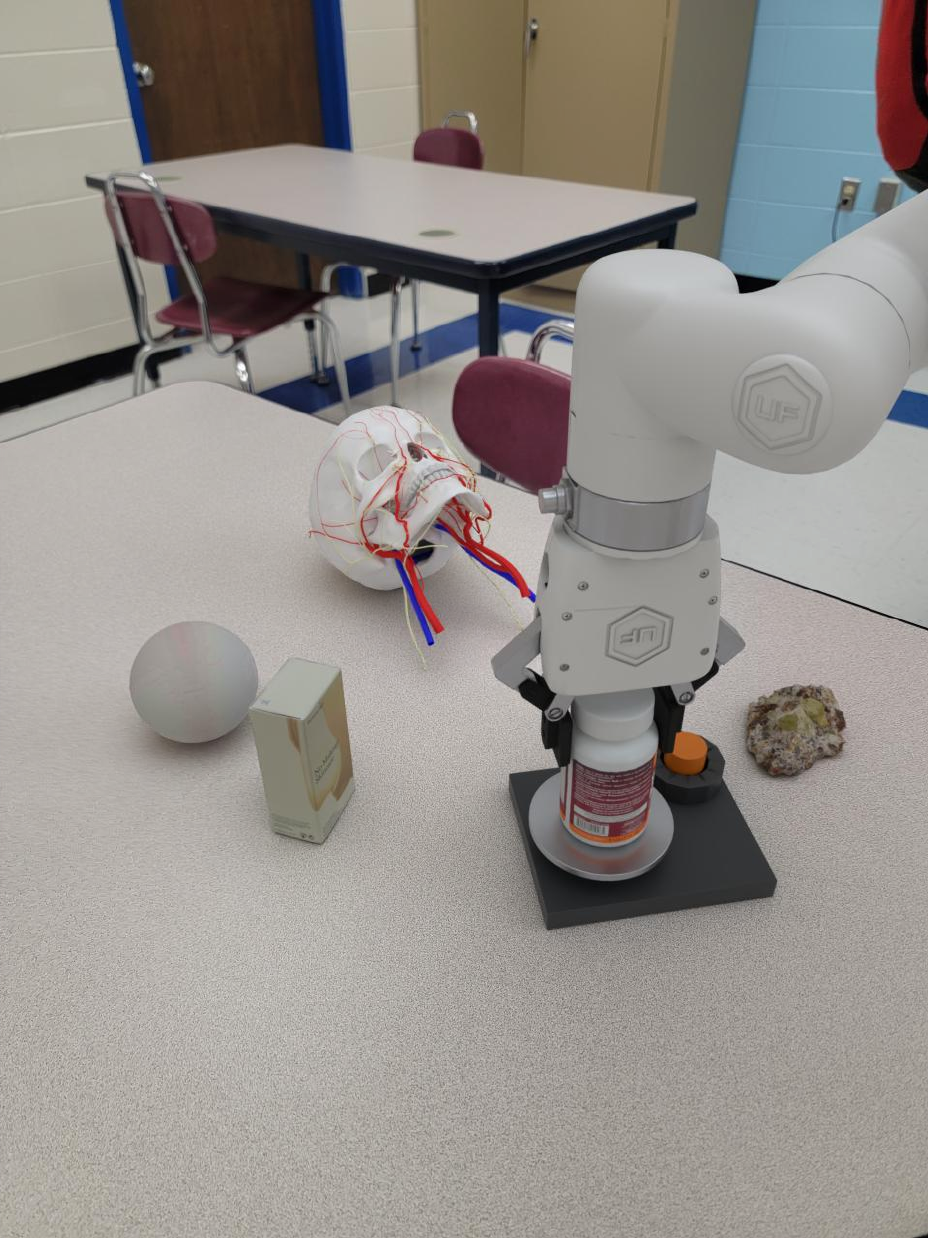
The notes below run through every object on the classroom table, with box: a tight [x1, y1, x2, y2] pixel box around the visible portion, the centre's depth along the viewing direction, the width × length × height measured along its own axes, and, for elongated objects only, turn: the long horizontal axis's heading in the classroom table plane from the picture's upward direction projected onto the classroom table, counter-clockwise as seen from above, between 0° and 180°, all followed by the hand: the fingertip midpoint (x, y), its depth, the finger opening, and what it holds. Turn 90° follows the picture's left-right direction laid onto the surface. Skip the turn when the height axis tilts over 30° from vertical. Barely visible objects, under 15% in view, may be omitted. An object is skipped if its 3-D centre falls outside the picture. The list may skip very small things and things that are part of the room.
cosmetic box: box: [248, 656, 356, 844], centre depth 66 cm, size 6×4×12 cm
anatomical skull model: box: [308, 405, 536, 672], centre depth 87 cm, size 16×19×25 cm
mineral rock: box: [745, 683, 847, 777], centre depth 74 cm, size 11×4×8 cm
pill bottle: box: [559, 687, 659, 847], centre depth 60 cm, size 6×6×11 cm
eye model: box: [129, 620, 259, 744], centre depth 74 cm, size 10×10×10 cm
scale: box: [508, 730, 778, 931], centre depth 66 cm, size 16×14×4 cm
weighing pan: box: [529, 772, 674, 881], centre depth 63 cm, size 10×10×1 cm
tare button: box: [664, 731, 707, 776], centre depth 68 cm, size 3×3×2 cm
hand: (609, 743), depth 59 cm, fingers closed on pill bottle, 6 cm apart
